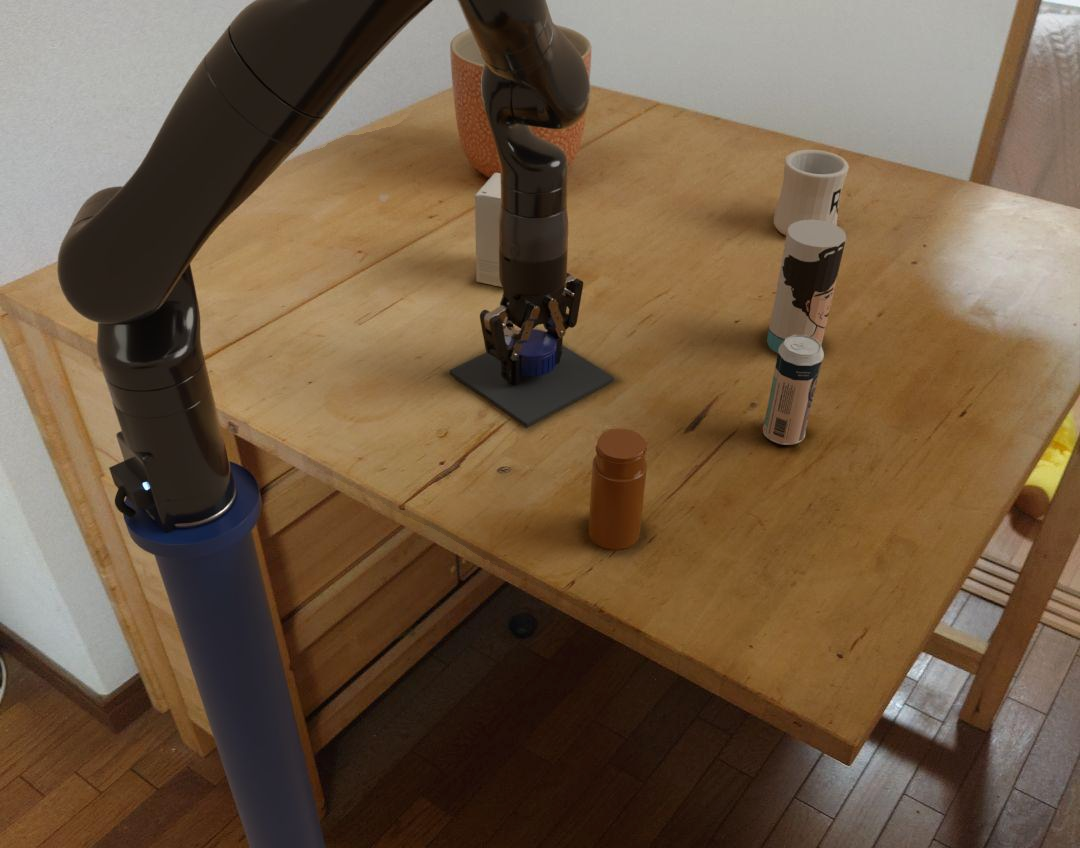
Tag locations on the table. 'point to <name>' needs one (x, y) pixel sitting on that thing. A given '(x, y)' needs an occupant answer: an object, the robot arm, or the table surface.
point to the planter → (473, 114)
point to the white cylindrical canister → (806, 281)
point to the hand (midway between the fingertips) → (531, 371)
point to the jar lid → (537, 354)
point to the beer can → (793, 389)
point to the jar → (617, 489)
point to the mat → (533, 385)
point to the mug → (810, 188)
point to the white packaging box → (488, 231)
